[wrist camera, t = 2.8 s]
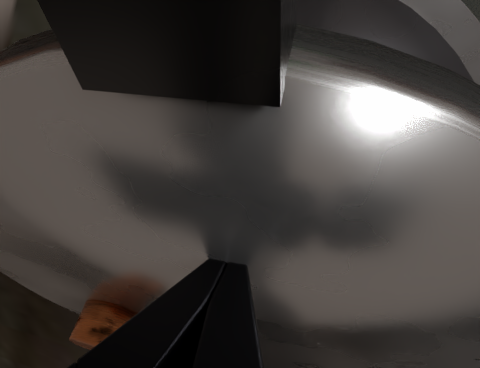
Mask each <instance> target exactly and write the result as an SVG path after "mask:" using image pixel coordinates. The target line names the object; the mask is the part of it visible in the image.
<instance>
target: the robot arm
mask: <svg viewBox="0 0 480 368" xmlns="http://www.w3.org/2000/svg"><path fill="white" fill-rule="evenodd" d="M67 368H264V363H263V356H262V350H261V344H260V338H259V332H258V326H257V320H256V314H255V307H254V301H253V295H252V289H251V283H250V277H249V271H248V266H247V265H245V264H239V263H233V262H230V263H228V264H227V262H225V261H221V260H215V259H208V260H206V261H205V262H204V263H202V264H201V265H200V266H198V267H197V268H196V269H194V270H193V271H192V272H191V273H189V274H188V275H187V276H185V277H184V278H183V279H182V280H180V281H179V282H178V283H176V284H175V285H174V286H172V287H171V288H170V289H169V290H167V291H166V292H165V293H163V294H162V295H161V296H159V297H158V298H157V299H156V300H154V301H153V302H152V303H150V304H149V305H148V306H147V307H145V308H144V309H143V310H141V311H140V312H139V313H137V314H136V315H135V316H134V317H132V318H131V319H130V320H128V321H127V322H126V323H125V324H123V325H122V326H121V327H119V328H118V329H117V330H115V331H114V332H113V333H112V334H110V335H109V336H108V337H106V338H105V339H104V340H103V341H101V342H100V343H99V344H97V345H96V346H95V347H93V348H92V349H91V350H90V351H88V352H87V353H86V354H84V355H83V356H82V357H81V358H79V359H78V360H77V363H73V364H71V365H70V366H69V367H67Z"/></svg>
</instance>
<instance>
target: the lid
mask: <svg viewBox="0 0 480 368" xmlns="http://www.w3.org/2000/svg"><path fill="white" fill-rule="evenodd" d="M38 2H39V4H40V6H41V8H42V10H43V12H44V14H45V16H46V18H47V20H48V22H49V24H50V26H51V28H52V29H50V30H47V31H44V32H41V33H38V34H35V35H33V36H30V37H27V38H24V39H21V40H18V41H17V42H15V43H13V44H12V45H10V46H8V47H7V48H5V49H4V50H2V51H0V271H1V272H2V273H3V274H5V275H6V276H8V277H10V278H11V279H13V280H15V281H16V282H18V283H20V284H21V285H23V286H24V287H26V288H28V289H30V290H31V291H33V292H35V293H37V294H39V295H41V296H42V297H44V298H46V299H48V300H50V301H52V302H54V303H56V304H58V305H60V306H62V307H64V308H66V309H68V310H70V311H72V312H74V313H77V314H79V315H80V316H79V318H78V320H77V323H76V325H75V327H74V329H73V332H72V334H71V336H70V338H69V340H70V341H71V342H73V343H75V344H77V345H79V346H81V347H84V348H86V349H89V350H91V349H92V348H93V347H95V346H96V345H97V344H99V343H100V342H101V341H103V340H104V339H105V338H106V337H108V336H109V335H110V334H112V333H113V332H114V331H115V330H117V329H118V328H119V327H121V326H122V325H123V324H125V323H126V322H127V321H128V320H130V319H131V318H132V317H134V316H135V315H136V314H137V313H139V312H140V311H141V310H143V309H144V308H145V307H147V306H148V305H149V304H150V303H152V302H153V301H154V300H156V299H157V298H158V297H159V296H161V295H162V294H163V293H165V292H166V291H167V290H169V289H170V288H171V287H172V286H174V285H175V284H176V283H178V282H179V281H180V280H182V279H183V278H184V277H185V276H187V275H188V274H189V273H191V272H192V271H193V270H194V269H196V268H197V267H198V266H200V265H201V264H202V263H204V262H205V261H206V260H208V259H215V260H221V261H225V262H227V264H228V263H230V262H233V263H239V264H245V265H247V266H248V271H249V277H250V283H251V289H252V295H253V301H254V307H255V314H256V320H257V326H258V332H259V338H260V344H261V350H262V356H263V363H264V368H480V85H478V84H476V83H475V82H473V81H471V80H469V79H467V78H465V77H463V76H461V75H459V74H458V73H456V72H454V71H452V70H450V69H448V68H445V67H442V66H440V65H437V64H434V63H431V62H429V61H426V60H423V59H421V58H418V57H415V56H412V55H410V54H407V53H404V52H401V51H399V50H396V49H393V48H390V47H388V46H385V45H382V44H380V43H377V42H374V41H371V40H367V39H363V38H359V37H354V36H350V35H346V34H341V33H337V32H333V31H329V30H324V29H320V28H316V27H311V26H307V25H303V24H299V23H296V14H297V0H38Z"/></svg>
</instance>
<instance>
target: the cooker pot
mask: <svg viewBox="0 0 480 368" xmlns="http://www.w3.org/2000/svg"><path fill="white" fill-rule="evenodd" d="M296 23H299V24H303V25H307V26H311V27H316V28H320V29H324V30H329V31H333V32H337V33H341V34H346V35H350V36H354V37H359V38H363V39H367V40H371V41H374V42H377V43H380V44H382V45H385V46H388V47H390V48H393V49H396V50H399V51H401V52H404V53H407V54H410V55H412V56H415V57H418V58H421V59H423V60H426V61H429V62H431V63H434V64H437V65H440V66H442V67H445V68H448V69H450V70H452V71H454V72H456V73H458V74H459V75H461V76H463V77H465V78H467V79H469V80H471V81H473V82H475V83H476V84H478V85H480V22H479V21H478V20H477V18H476V17H475V16H474V15H473V14H472V12H471V11H470V10H469V9H468V7H467V6H466V5H465V4H464V3H463V2H462V1H461V0H297V14H296Z"/></svg>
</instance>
